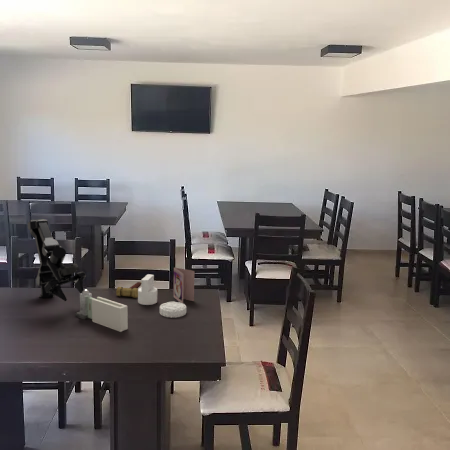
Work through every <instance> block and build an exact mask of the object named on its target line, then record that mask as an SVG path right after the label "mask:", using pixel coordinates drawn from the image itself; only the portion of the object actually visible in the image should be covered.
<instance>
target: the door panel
mask: <svg viewBox="0 0 450 450" xmlns="http://www.w3.org/2000/svg"><path fill="white" fill-rule="evenodd" d="M92 299H97V298H95V297H93V296H92V297H88V298H87V303H88V318H87V319H91V320H92ZM97 300H98V299H97ZM100 301H101V300H100ZM103 302H104V301H103ZM106 303H107V302H106Z"/></svg>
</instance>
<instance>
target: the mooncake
mask: <svg viewBox="0 0 450 450" xmlns="http://www.w3.org/2000/svg"><path fill="white" fill-rule="evenodd" d="M186 314H187V305H186V304H185V303H184V302H183V303H180V302H179V301H178V302H177V301H168V302H164V303H161V304H160V305H159V315H161V316H163V317H165V318H172V319H173V318H181V317H184V316H185V315H186Z"/></svg>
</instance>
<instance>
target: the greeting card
mask: <svg viewBox="0 0 450 450" xmlns="http://www.w3.org/2000/svg"><path fill="white" fill-rule="evenodd" d="M172 273H173V298H174V299H176V301H178V302H180V303H183V304H184V300H186V301H191V302H195V270H191V269H186V268H185V269H184V268H180V267H173V271H172Z"/></svg>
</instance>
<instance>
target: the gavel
mask: <svg viewBox="0 0 450 450" xmlns="http://www.w3.org/2000/svg"><path fill="white" fill-rule="evenodd" d="M139 288H141V281H137V282H136V283H135V284H132V285H131V286H130V287H123V286H117V287H116V291H115V293H116V294H115V295H116V296H117V297H129V298H131V297H132V298H134V299H138V289H139Z"/></svg>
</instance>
